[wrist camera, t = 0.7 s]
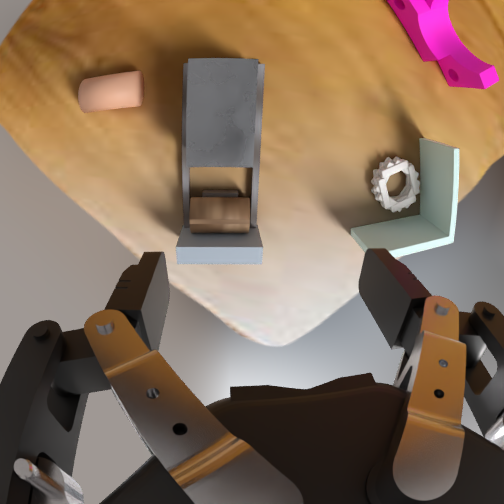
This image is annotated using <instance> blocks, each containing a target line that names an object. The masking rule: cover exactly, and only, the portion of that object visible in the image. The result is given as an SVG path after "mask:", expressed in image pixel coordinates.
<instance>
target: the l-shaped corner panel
mask: <svg viewBox="0 0 504 504" xmlns="http://www.w3.org/2000/svg"><path fill="white" fill-rule="evenodd" d="M419 143H420V181H418V180H417V177H418V175H419V173H418V172H416V171H415V169H414V166H413V165H412V163H408V161H407V160H404V159H400V158H398V157H397V156H396V157H395V158H394V159H393V160H392V159H391V158H389V157H387V158H386V160H385V161H384V162H380V164H379V168H380V169H375V170H373V175H374V177H373V179H372V180H371V183H372V184H373V185H374V187H373V188H372V189H371V192H373V193H374V194H375V200H377V201H380V204H381V205H382V207H384V208H385V209H388V210H391V211H392V213H394V212H396V211H399V212H400V211H401V210H402V208H404V207H405V208H408V207H409V206H410V204H412V203H414V202H416V197H415V195H417V194H418V193H420V215H415V216H410V217H405V218H400V219H395V220H390V221H385V222H380V223H375V224H370V225H365V226H360V227H355V228H351V236H352V237H353V239H354V240H355V241H356V242H357V243H358V245H359V246H360V247H361V248H362V249H363V251H364V252H366V250H367V249H369V248H385V249H387V250H388V251H389V253H390V254H391V255H392V256H393V257H394V258H396V257H400V256H404V255H408V254H412V253H415V252H419V251H423V250H427V249H431V248H435V247H439V246H443V245H446V244H450V243H453V240H454V232H455V224H456V213H457V202H458V185H459V148H456V147H453V146H450V145H447V144H443V143H440V142H437V141H433V140H430V139H426V138H419ZM399 171H402V172H403V173H404V174H405V175H406V186H405V187H404V188H403V190H402V191H401V192H400V194H399V195H398V196H393V197H390V196H389V195H388V191H387V187H386V183H387V181H388V179H389V177H390V175H393V174H395V173H397V172H399ZM419 186H420V190H419Z"/></svg>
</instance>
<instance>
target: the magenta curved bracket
mask: <svg viewBox="0 0 504 504" xmlns="http://www.w3.org/2000/svg"><path fill="white" fill-rule="evenodd" d="M448 1H449V0H387V2H388V3H389V4H390V6H391V7H392V9H393V10H394V12H395V13H396V15H397V17H398V18H399V20H400V21H401V23H402V24H403V26H404V28H405V29H406V31H407V33H408V34H409V36H410V38H411V40H412V41H413V43H414V45H415V47H416V49H417V50H418V52H419V54H420V56H421V58H422V60H423V62H424V61H436V60H437V61H438V63H439V65H440V67H441V70H442V72H443V74H444V76H445V78H446V80H447V83H448V85H449V86H452V87H467V88H478V89H486V88H488V87H489V86H491V85H493V84H494V83H496V82H497V81H499V78H498V75H497V73H496V70H495V67H494V66H493V65H490V64H487V63H485V62H483V61H481V60H480V59H478V58H477V57H476V56H474V55H473V54H472V53H471V52H470V51H469V50H468V49H467V48H466V47H465V46H464V45H463V43H462V42H461V41H460V39H459V38H458V36H457V35H456V33H455V31H454V29H453V27H452V25H451V22H450V19H449V15H448Z"/></svg>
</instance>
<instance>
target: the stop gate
mask: <svg viewBox="0 0 504 504" xmlns="http://www.w3.org/2000/svg"><path fill="white" fill-rule="evenodd" d="M262 254H263V245H262V241H261V237H260V233H259V229H258V225H256V228H250V227H249V233H191V231H190V228H184V225H183V227H182V230H181V233H180V236H179V239H178V242H177V245H176V255H177V264H262Z"/></svg>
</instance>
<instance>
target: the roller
mask: <svg viewBox="0 0 504 504" xmlns="http://www.w3.org/2000/svg"><path fill="white" fill-rule="evenodd" d="M143 97H144V78H143V74H142V72H141V71H132V72H124V73H117V74H111V75H104V76H99V77H93V78H88V79H84V80H83V81H82V82H81V84H80V87H79V92H78V100H79V105H80V108H81V110H82V111H83V112H84V113H88V112H95V111H102V110H109V109H117V108H126V107H136V106H140V105H141V104H142V102H143Z"/></svg>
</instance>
